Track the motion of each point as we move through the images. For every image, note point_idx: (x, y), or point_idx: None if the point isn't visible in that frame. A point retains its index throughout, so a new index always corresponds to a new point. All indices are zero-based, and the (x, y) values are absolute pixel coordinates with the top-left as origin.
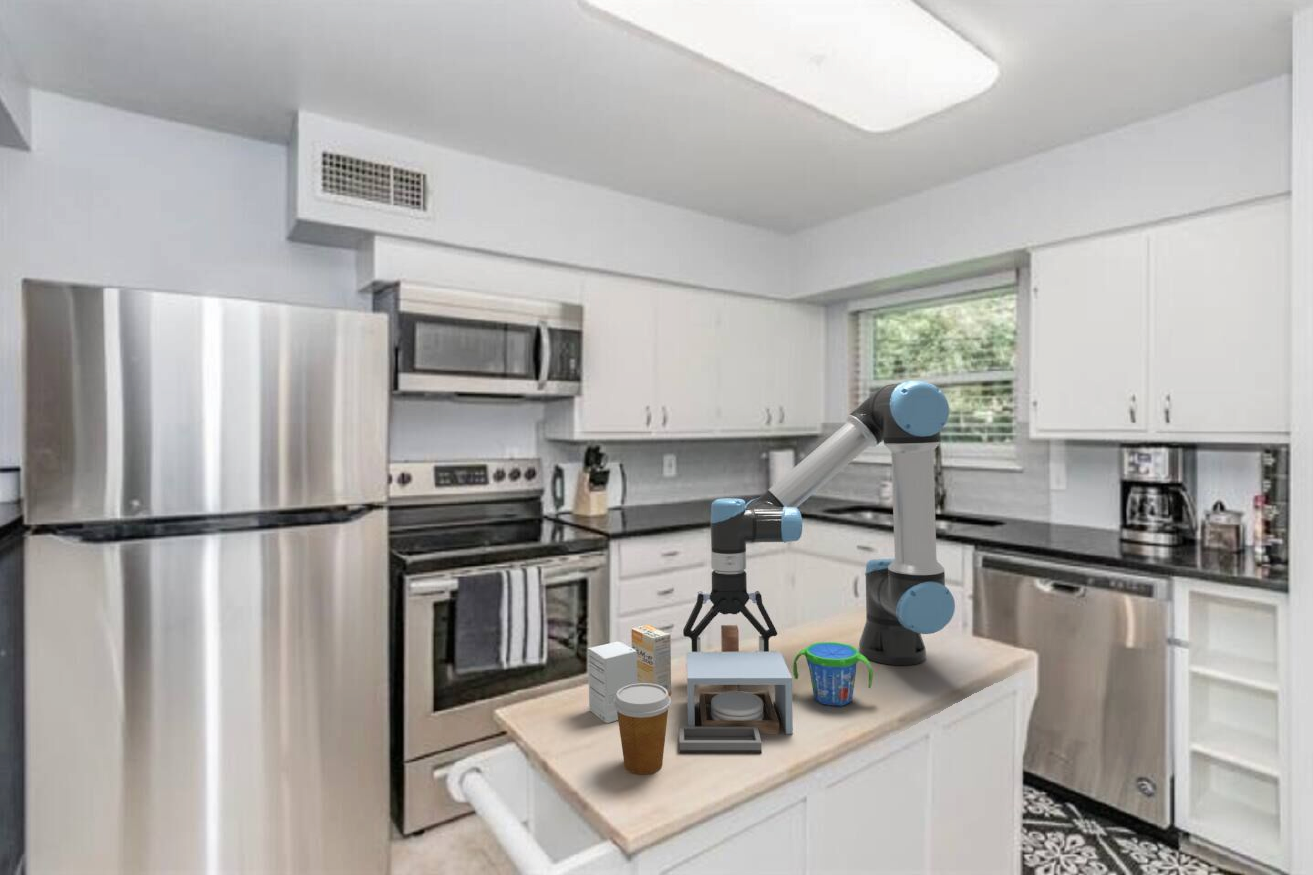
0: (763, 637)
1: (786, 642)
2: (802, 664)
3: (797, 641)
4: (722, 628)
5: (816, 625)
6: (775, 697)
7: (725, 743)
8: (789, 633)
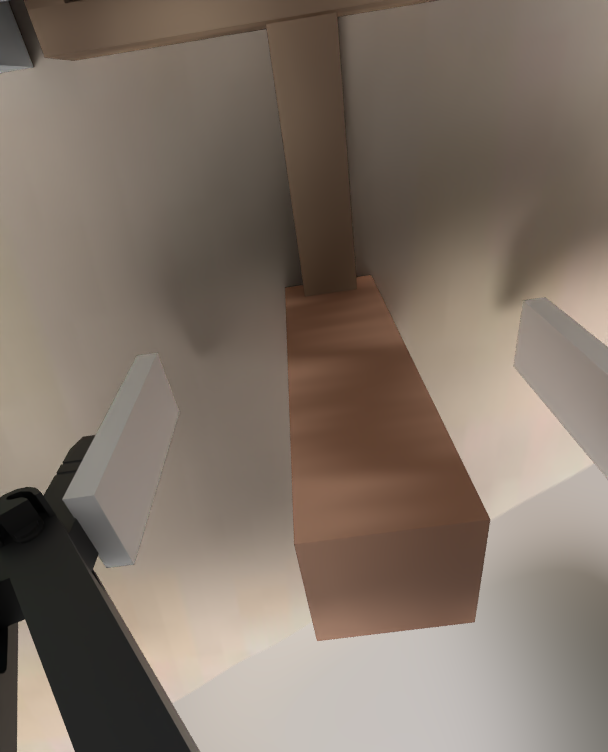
0: (58, 520)
1: (155, 657)
2: None
3: None
4: (475, 560)
5: None
6: (7, 43)
7: None
8: None
